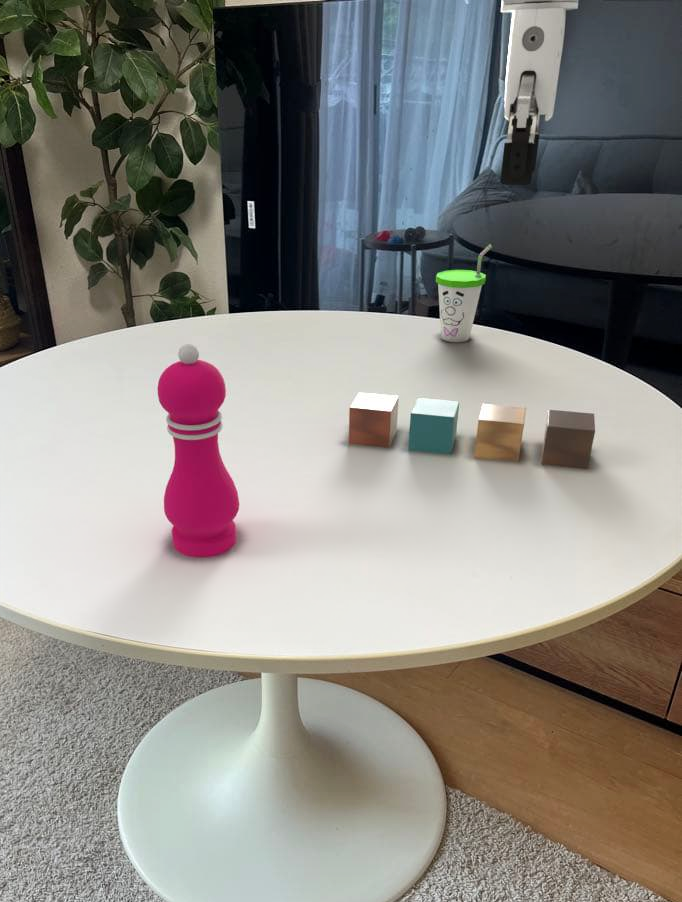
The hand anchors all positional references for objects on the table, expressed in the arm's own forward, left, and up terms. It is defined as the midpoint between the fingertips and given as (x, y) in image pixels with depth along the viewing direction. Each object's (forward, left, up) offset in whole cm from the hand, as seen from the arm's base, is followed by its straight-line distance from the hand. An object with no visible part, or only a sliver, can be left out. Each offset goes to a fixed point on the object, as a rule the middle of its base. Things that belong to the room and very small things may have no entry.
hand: (517, 178), depth 89 cm
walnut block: (-10, +12, -28) cm, 32 cm away
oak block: (-2, +12, -28) cm, 31 cm away
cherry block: (+13, +12, -28) cm, 33 cm away
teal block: (+6, +12, -28) cm, 31 cm away
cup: (+8, -30, -28) cm, 42 cm away
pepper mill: (+24, +40, -28) cm, 55 cm away
